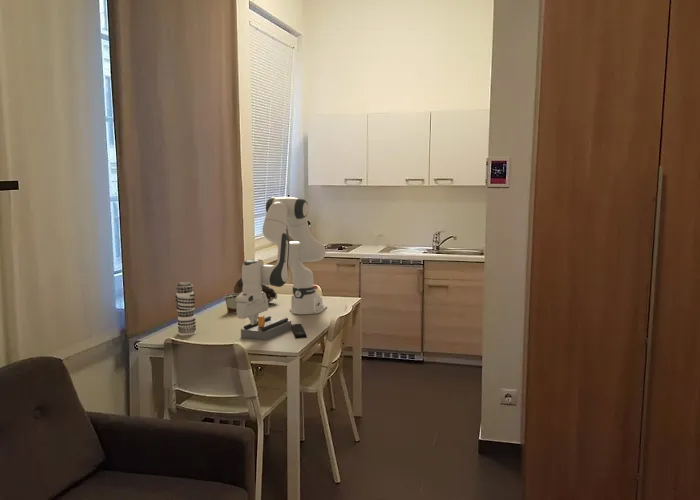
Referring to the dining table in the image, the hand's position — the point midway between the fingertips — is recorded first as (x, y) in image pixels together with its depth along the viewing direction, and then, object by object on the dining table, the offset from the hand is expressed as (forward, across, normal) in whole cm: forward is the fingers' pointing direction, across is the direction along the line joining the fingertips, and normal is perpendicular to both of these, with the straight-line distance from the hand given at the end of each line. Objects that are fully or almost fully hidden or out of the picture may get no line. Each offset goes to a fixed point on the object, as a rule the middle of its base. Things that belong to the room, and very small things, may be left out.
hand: (253, 324), depth 282 cm
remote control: (+8, -18, +13) cm, 24 cm away
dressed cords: (+3, -10, 0) cm, 11 cm away
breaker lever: (+3, -6, 0) cm, 7 cm away
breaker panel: (+7, -10, 0) cm, 12 cm away
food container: (+7, -42, -44) cm, 61 cm away
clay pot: (+7, -64, -44) cm, 78 cm away
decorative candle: (+7, +4, -37) cm, 38 cm away
